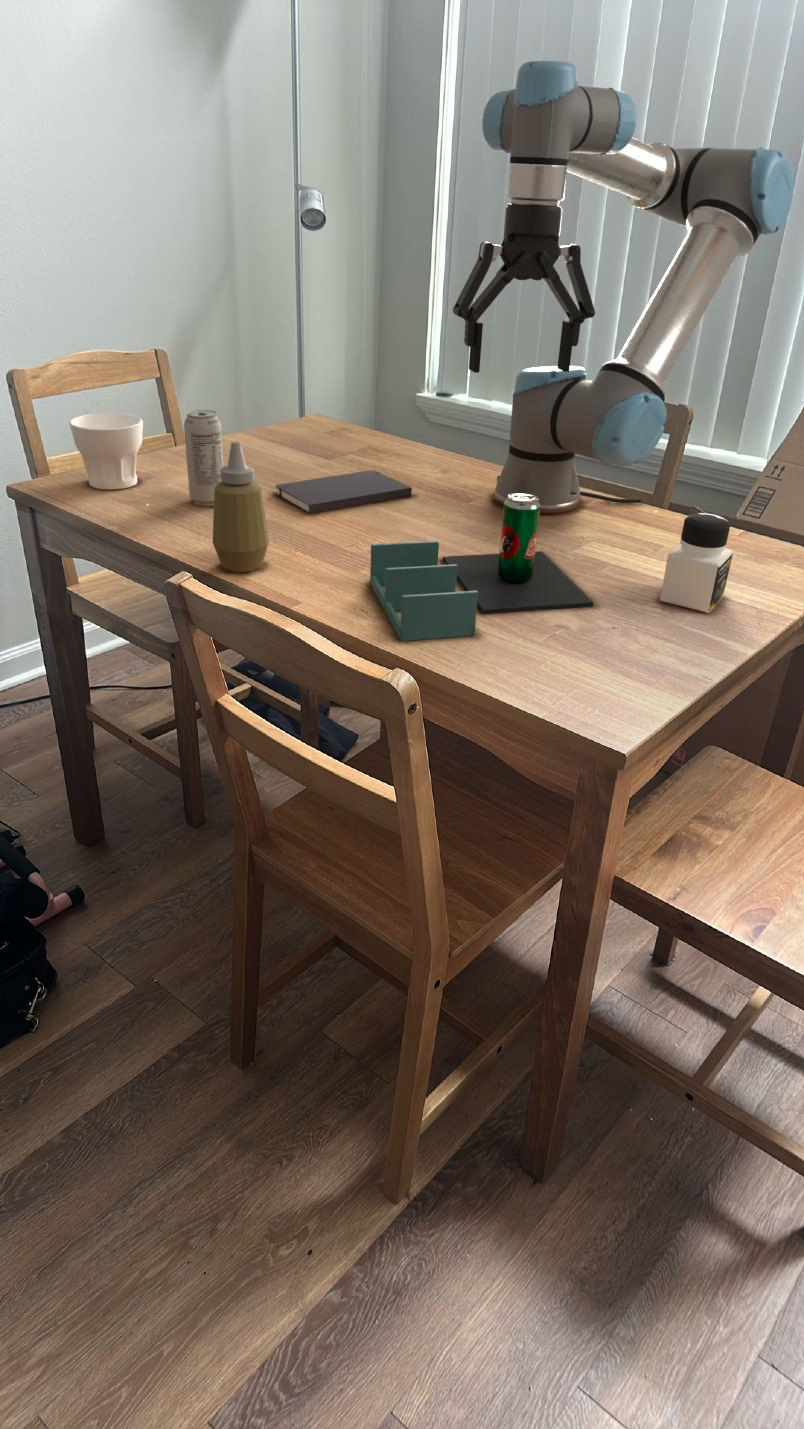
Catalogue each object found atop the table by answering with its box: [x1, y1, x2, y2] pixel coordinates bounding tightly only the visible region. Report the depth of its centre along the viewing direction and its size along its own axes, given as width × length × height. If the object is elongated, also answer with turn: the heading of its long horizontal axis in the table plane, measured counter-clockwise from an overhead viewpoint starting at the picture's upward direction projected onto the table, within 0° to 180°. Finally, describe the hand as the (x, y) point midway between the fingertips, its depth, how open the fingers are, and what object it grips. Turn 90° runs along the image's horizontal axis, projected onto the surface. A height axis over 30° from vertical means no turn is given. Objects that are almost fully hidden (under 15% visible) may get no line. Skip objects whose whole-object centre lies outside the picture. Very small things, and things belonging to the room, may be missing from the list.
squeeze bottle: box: [212, 440, 270, 573], centre depth 134 cm, size 8×8×18 cm
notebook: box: [274, 469, 413, 514], centre depth 170 cm, size 13×2×21 cm
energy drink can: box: [183, 409, 224, 507], centre depth 160 cm, size 6×6×15 cm
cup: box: [68, 412, 144, 491], centre depth 169 cm, size 12×12×11 cm
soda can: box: [498, 493, 541, 584], centre depth 134 cm, size 5×5×12 cm
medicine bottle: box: [659, 512, 734, 614], centre depth 131 cm, size 7×7×12 cm
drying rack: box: [369, 540, 478, 642], centre depth 126 cm, size 10×19×6 cm, turn 14°
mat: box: [442, 550, 594, 614], centre depth 137 cm, size 16×20×1 cm
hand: (519, 370), depth 136 cm, fingers open, 13 cm apart
